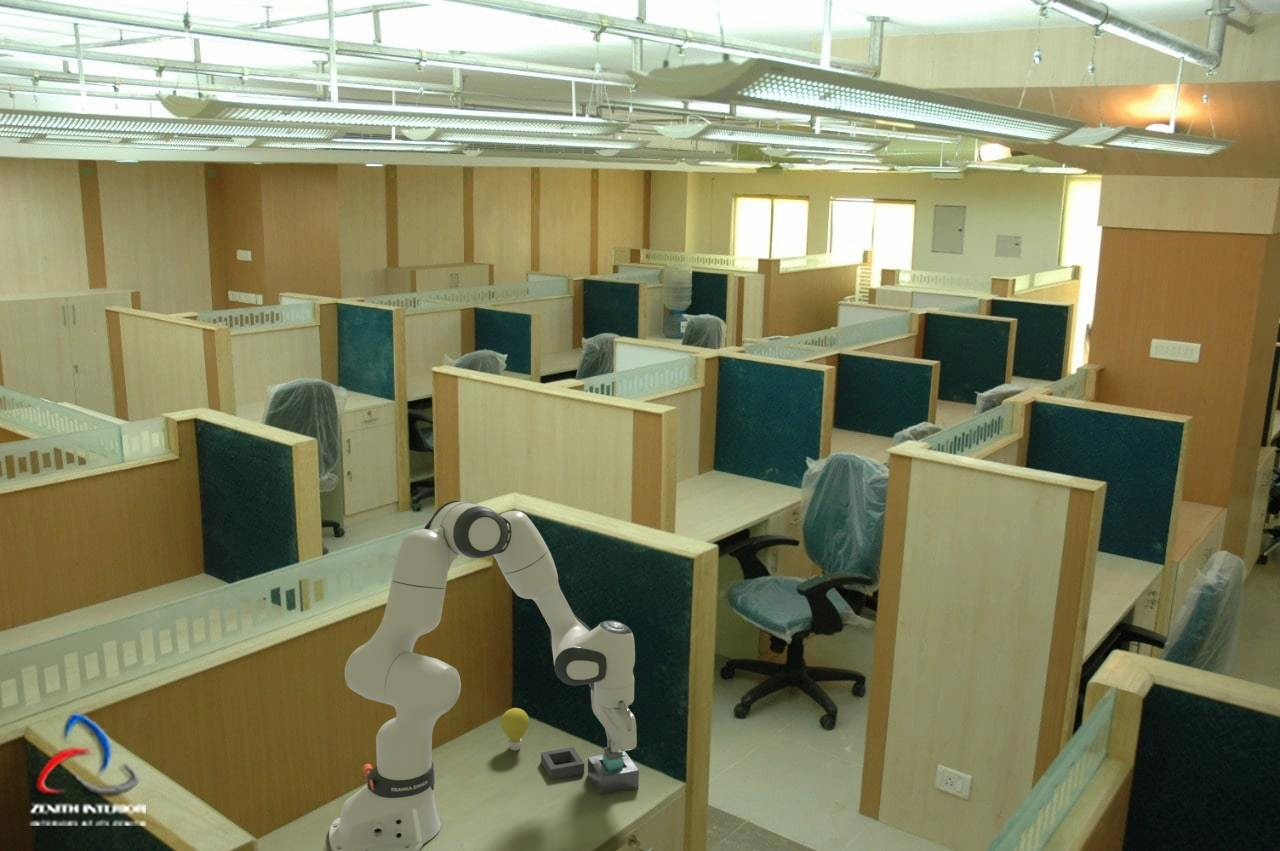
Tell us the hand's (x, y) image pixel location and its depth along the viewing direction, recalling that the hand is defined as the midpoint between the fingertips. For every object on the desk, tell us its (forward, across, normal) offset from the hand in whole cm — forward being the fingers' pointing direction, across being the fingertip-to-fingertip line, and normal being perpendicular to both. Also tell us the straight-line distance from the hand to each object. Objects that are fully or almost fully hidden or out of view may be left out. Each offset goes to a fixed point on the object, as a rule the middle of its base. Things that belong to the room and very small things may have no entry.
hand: (613, 749), depth 238 cm
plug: (+8, 0, 0) cm, 8 cm away
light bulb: (+8, +22, +17) cm, 29 cm away
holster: (+8, +9, +9) cm, 15 cm away
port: (+8, 0, 0) cm, 8 cm away
